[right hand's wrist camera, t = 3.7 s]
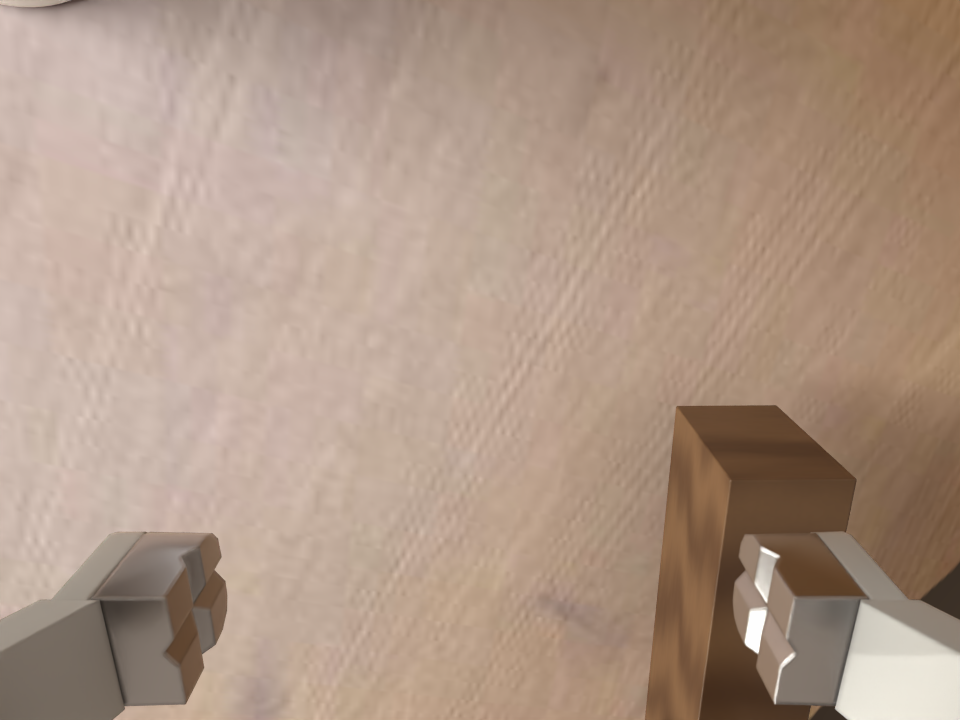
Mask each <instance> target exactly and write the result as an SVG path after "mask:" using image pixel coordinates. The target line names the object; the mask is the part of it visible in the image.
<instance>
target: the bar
mask: <svg viewBox="0 0 960 720" xmlns="http://www.w3.org/2000/svg"><path fill="white" fill-rule="evenodd" d="M855 485H856V478H855V477H854V476H852V475H851V474H850V473H849V472H848V471H847V470H846V469H845V468H844V467H843V466H842V465H840V464H839V463H838V462H837V461H836V460H835V459H834V458H833V457H832V456H831V455H830V454H828V453H827V452H826V451H825V450H824V449H823V448H822V447H821V446H820V445H819V444H818V443H817V442H815V441H814V440H813V439H812V438H811V437H810V436H809V435H808V434H807V433H806V432H805V431H803V430H802V429H801V428H800V427H799V426H798V425H797V424H796V423H795V422H794V421H793V420H791V419H790V418H789V417H788V416H787V415H786V414H785V413H784V412H783V411H782V410H781V409H779V408H778V407H777V406H776V405H770V406H677V407H676V415H675V425H674V435H673V445H672V455H671V465H670V475H669V485H668V495H667V505H666V515H665V525H664V535H663V545H662V555H661V565H660V575H659V585H658V595H657V605H656V615H655V625H654V635H653V645H652V655H651V665H650V675H649V685H648V695H647V705H646V715H645V720H808V717H809V712H810V708H811V705H779V704H774V702H773V701H772V699H771V697H770V695H769V693H768V691H767V689H766V687H765V685H764V683H763V681H762V679H761V677H760V675H759V673H758V671H757V669H756V664H757V658H758V654H757V653H756V652H754V651H753V650H751V649H750V648H748V647H747V646H746V645H744V643H743V641H742V639H741V637H740V634H739V632H738V629H737V626H736V622H735V619H734V610H733V591H734V583H735V580H736V579H737V578H738V577H739V576H740V575H741V574H742V573H743V572H744V571H745V570H746V569H745V568H744V566H743V564H742V562H741V561H740V559H739V551H740V545H741V542H742V539H743V537H744V535H745V534H785V533H811V532H839V531H844V532H846V529H847V525H848V520H849V515H850V510H851V505H852V500H853V495H854V490H855Z"/></svg>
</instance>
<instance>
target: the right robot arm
mask: <svg viewBox="0 0 960 720" xmlns="http://www.w3.org/2000/svg"><path fill="white" fill-rule="evenodd" d="M67 1H70V0H0V4H2V5H7V6H15V7H44V6H51V5H56V4H61V3H64V2H67ZM220 559H221V552H220V546H219V541H218V538H217V537H216V536H215V535H214V534H213V533H176V532H149V533H147V532H116V533H113V534H109V535H108V536H107V538H106V539H105V540H104V541H103V542H102V543H101V544H100V545H99V546H98V548H97V549H96V550H95V551H94V552H93V553H92V554H91V555H90V557H89V558H88V559H87V560H86V561H85V562H84V563H83V564H82V566H81V567H80V568H79V569H78V570H77V571H76V572H75V573H74V575H73V576H72V577H71V578H70V579H69V580H68V581H67V582H66V583H65V585H64V586H63V587H62V588H61V589H60V590H59V591H58V592H57V594H56V595H55V596H54V597H53V598H52V599H51V600H39V601H37V602H35V603H33V604H31V605H29V606H27V607H25V608H23V609H21V610H19V611H17V612H15V613H13V614H11V615H9V616H7V617H5V618H3V619H1V620H0V720H113V719H114V718H115V717H116V716H117V715H119V714H120V713H121V712H122V711H123V710H125V707H124V706H145V705H179V704H186V703H187V701H188V699H189V697H190V695H191V693H192V691H193V689H194V687H195V685H196V683H197V681H198V679H199V677H200V675H201V673H202V671H203V669H204V664H203V658H202V654H203V653H204V652H206V651H207V650H209V649H210V648H212V647H213V646H214V645H216V643H217V641H218V639H219V636H220V634H221V632H222V630H223V626H224V621H225V617H226V613H227V589H226V582H225V580H224V579H223V578H222V577H221V576H220V575H219V574H218V573H217V572H216V571H215V570H214V569H215V568H216V566H217V564H218V562H219V561H220ZM739 559H740V561H741V562H742V564H743V566H744V568H745V569H746V570H745V571H744V572H743V573H742V574H741V575H740V576H739V577H738V578H737V579H736V580H735V583H734V591H733V610H734V619H735V622H736V626H737V629H738V632H739V634H740V637H741V639H742V641H743V643H744V645H746V646H747V647H748V648H750V649H751V650H753V651H754V652H756V653H757V654H758V658H757V664H756V669H757V671H758V673H759V675H760V677H761V679H762V681H763V683H764V685H765V687H766V689H767V691H768V693H769V695H770V697H771V699H772V701H773V702H774V704H779V705H815V706H836V707H835V709H836V710H837V711H838V712H839V713H840V714H842V715H843V716H844V717H845V718H846V719H848V720H960V620H959V619H957V618H955V617H953V616H951V615H949V614H947V613H945V612H943V611H941V610H939V609H937V608H935V607H933V606H931V605H929V604H927V603H925V602H923V601H921V600H909V599H908V598H907V597H906V596H905V595H904V594H903V592H902V591H901V590H900V589H899V588H898V587H897V586H896V585H895V584H894V582H893V581H892V580H891V579H890V578H889V577H888V576H887V575H886V573H885V572H884V571H883V570H882V569H881V568H880V567H879V566H878V564H877V563H876V562H875V561H874V560H873V559H872V558H871V557H870V555H869V554H868V553H867V552H866V551H865V550H864V549H863V548H862V546H861V545H860V544H859V543H858V542H857V541H856V540H855V539H854V538H853V536H852V535H850V534H848V533H846V532H844V531H839V532H811V533H785V534H745V535H744V537H743V539H742V542H741V545H740V551H739Z"/></svg>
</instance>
